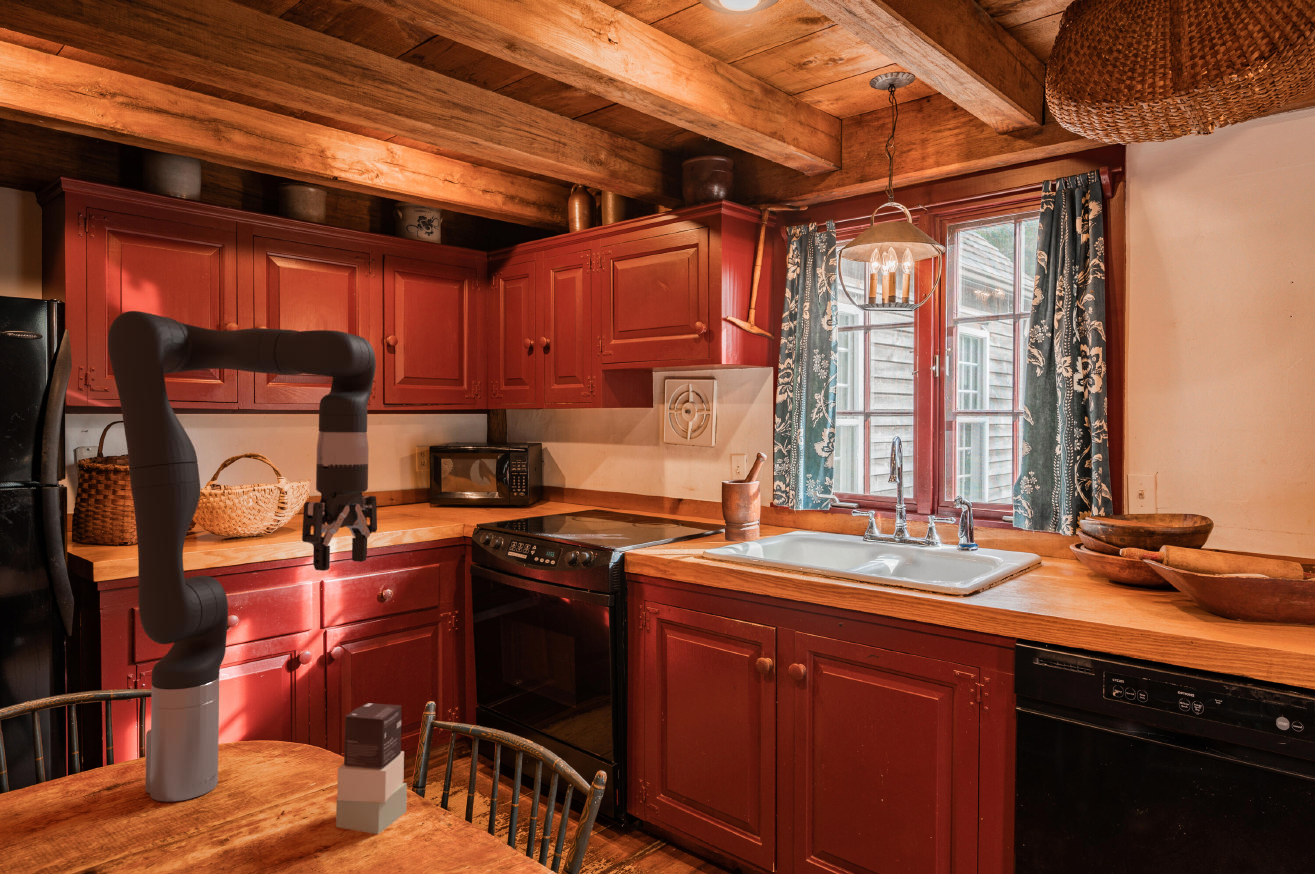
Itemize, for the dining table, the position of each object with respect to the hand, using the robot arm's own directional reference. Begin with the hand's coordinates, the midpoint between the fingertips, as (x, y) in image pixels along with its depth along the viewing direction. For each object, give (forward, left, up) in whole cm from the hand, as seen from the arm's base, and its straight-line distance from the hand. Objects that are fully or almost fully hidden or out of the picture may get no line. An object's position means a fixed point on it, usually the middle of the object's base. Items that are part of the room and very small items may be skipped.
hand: (341, 565), depth 124 cm
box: (+10, -4, -28) cm, 29 cm away
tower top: (+9, -4, -32) cm, 33 cm away
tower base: (+10, -4, -36) cm, 38 cm away
